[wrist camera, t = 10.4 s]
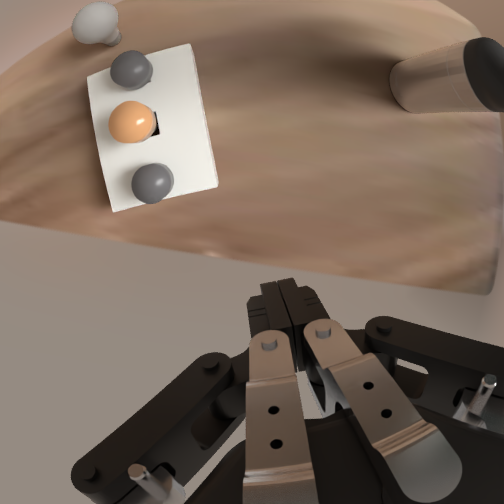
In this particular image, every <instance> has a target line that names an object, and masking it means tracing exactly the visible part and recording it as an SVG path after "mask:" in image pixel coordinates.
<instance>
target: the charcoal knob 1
mask: <svg viewBox="0 0 504 504" xmlns="http://www.w3.org/2000/svg"><path fill="white" fill-rule="evenodd" d="M152 74H153V67H152V64H151V62H150V61H149V60H148V59H147V58H146V57H145V56H144V55H143V54H142V53H140V52H138V51H127V52H124V53H122V54H120V55H119V56H118V57H117V58H116V59H115V60H114V62H113V63H112V66H111V69H110V75H111V78H112V80H113V81H114V82H115V83H116V84H118V85H120V86H122V87H124V88H126V89H128V90H137V89H140V88H142V87H143V86H145V85H146V84H147V83H149V82H151V80H150V79H151V77H152Z"/></svg>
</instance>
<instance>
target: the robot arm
mask: <svg viewBox="0 0 504 504" xmlns="http://www.w3.org/2000/svg"><path fill="white" fill-rule="evenodd" d="M389 81H390V87H391V91H392V93H393V95H394V97H395V99H396V100H397V102H398V103H399V104H400V105H401V106H402V107H403V108H404V109H405V110H407V111H409V112H411V113H415V114H420V113H439V112H504V48H503V47H502V46H501V45H500V44H499V43H497V42H496V41H495V40H493V39H490V38H486V37H482V38H476V39H472V40H469V41H465V42H461V43H457V44H454V45H451V46H447V47H444V48H440V49H437V50H434V51H431V52H428V53H425V54H422V55H419V56H416V57H413V58H410V59H407V60H404V61H402V62H399V63H397V64H396V65H395V66H394V67H393V68H392V70H391V73H390V79H389ZM260 287H261V293H262V295H259V296H253V297H250V299H249V301H248V302H247V309H248V317H249V325H250V332H251V338H252V339H251V340H250V343H249V347H248V349H247V350H246V351H244V352H243V353H241V354H240V355H237V356H235V357H233V358H229V357H228V356H227V355H226V354H223V353H218V352H213V353H208V354H205V355H202V356H200V357H199V358H198V359H196V360H195V361H194V362H193V363H192V364H191V365H190V366H188V367H187V368H186V369H185V370H184V371H183V372H182V373H181V374H180V375H179V376H177V377H176V378H175V379H174V380H173V381H172V382H171V383H170V384H168V385H167V386H166V387H165V388H164V389H163V390H162V391H160V392H159V393H158V394H157V395H156V396H155V397H154V398H153V399H151V400H150V401H149V402H148V403H147V404H146V405H145V406H143V407H142V408H141V409H140V410H139V411H137V412H136V413H135V414H134V415H133V416H132V417H131V418H129V419H128V420H127V421H126V422H125V423H124V424H122V425H121V426H120V427H119V428H117V429H116V430H115V431H114V432H113V433H111V434H110V435H109V436H108V437H107V438H105V439H104V440H103V441H102V442H101V443H99V444H98V445H97V446H96V447H94V448H93V449H92V450H91V451H89V452H88V453H87V454H86V455H85V456H83V457H82V458H81V459H79V460H78V461H77V462H76V463H75V464H74V466H73V468H72V471H71V480H72V483H73V485H74V486H75V488H76V489H77V490H79V491H80V492H81V493H83V494H84V495H86V496H87V497H89V498H90V499H91V500H92V501H93V502H94V503H96V504H183V503H184V501H185V495H186V494H185V490H184V488H183V487H184V486H185V485H186V484H187V483H188V482H189V481H190V480H191V478H192V477H193V476H194V475H195V474H196V473H197V472H198V471H199V470H200V469H201V468H202V467H203V466H204V465H205V463H207V461H208V460H209V459H210V458H211V457H212V456H213V455H214V454H215V453H216V452H217V450H218V449H219V448H220V447H221V446H222V445H223V444H224V442H225V441H226V440H227V439H228V438H229V437H230V435H231V434H232V433H233V432H234V431H235V430H236V428H237V427H238V426H239V425H240V424H241V422H242V421H243V420H244V419H245V417H246V439H245V440H244V441H242V442H240V443H239V444H237V445H236V446H235V447H233V448H232V449H231V450H230V451H229V452H228V453H227V454H226V455H225V456H224V457H223V458H222V460H221V461H220V462H219V463H218V465H217V466H216V467H215V468H214V469H213V471H212V472H211V473H210V474H209V475H208V477H207V478H206V479H205V480H204V481H203V482H202V484H201V485H200V486H199V487H198V488H197V489H196V490H195V492H194V493H193V494H192V495H191V496H190V497H189V498H188V500H186V502H185V503H184V504H504V348H503V347H499V346H495V345H491V344H487V343H483V342H480V341H476V340H472V339H469V338H465V337H461V336H457V335H454V334H450V333H446V332H443V331H439V330H436V329H432V328H428V327H425V326H421V325H418V324H414V323H411V322H407V321H403V320H400V319H396V318H393V317H389V316H379V317H375V318H372V319H371V320H369V321H368V322H367V323H366V326H365V329H360V330H347V329H343V327H342V326H341V325H340V323H338V322H337V321H335V320H331V319H330V317H329V315H328V313H327V312H326V310H325V308H324V306H323V305H322V303H321V301H320V299H319V298H318V296H317V294H316V292H315V291H314V290H313V289H311V288H310V287H308V286H303V287H297V284H296V283H295V280H294V279H293V278H288V279H283V280H278V281H277V282H276V281H273V282H268V283H263V284H260ZM398 358H399V359H402V360H404V361H407V362H410V363H414V364H416V365H420V366H422V367H424V368H425V369H426V370H427V371H428V374H424V373H420V372H417V371H414V370H412V369H409V368H406V367H403V366H400V365H397V359H398ZM297 367H298V370H299V371H305V370H306V373H307V378H308V386H309V388H310V391H311V393H312V395H313V397H314V399H315V402H316V404H317V406H318V409H319V410H320V413H321V415H322V418H321V419H304V416H303V410H302V404H301V399H300V392H299V388H298V382H297V376H296V375H295V373H296V372H297Z"/></svg>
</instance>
